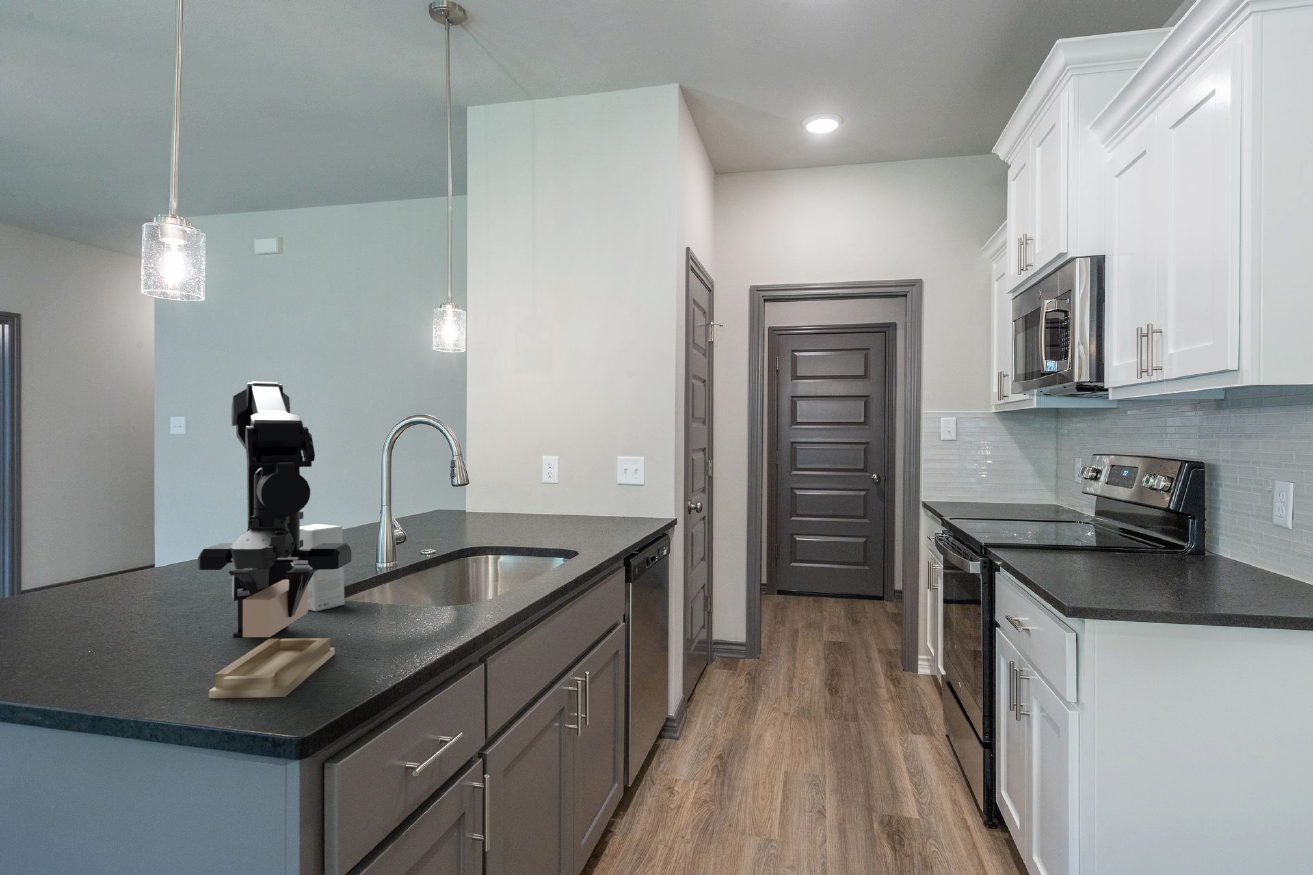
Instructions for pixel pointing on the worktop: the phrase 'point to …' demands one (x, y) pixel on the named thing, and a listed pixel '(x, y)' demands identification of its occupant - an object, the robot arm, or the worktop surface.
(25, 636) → the worktop surface
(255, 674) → the tray
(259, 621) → the clay bar
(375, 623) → the worktop surface
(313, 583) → the skincare box
